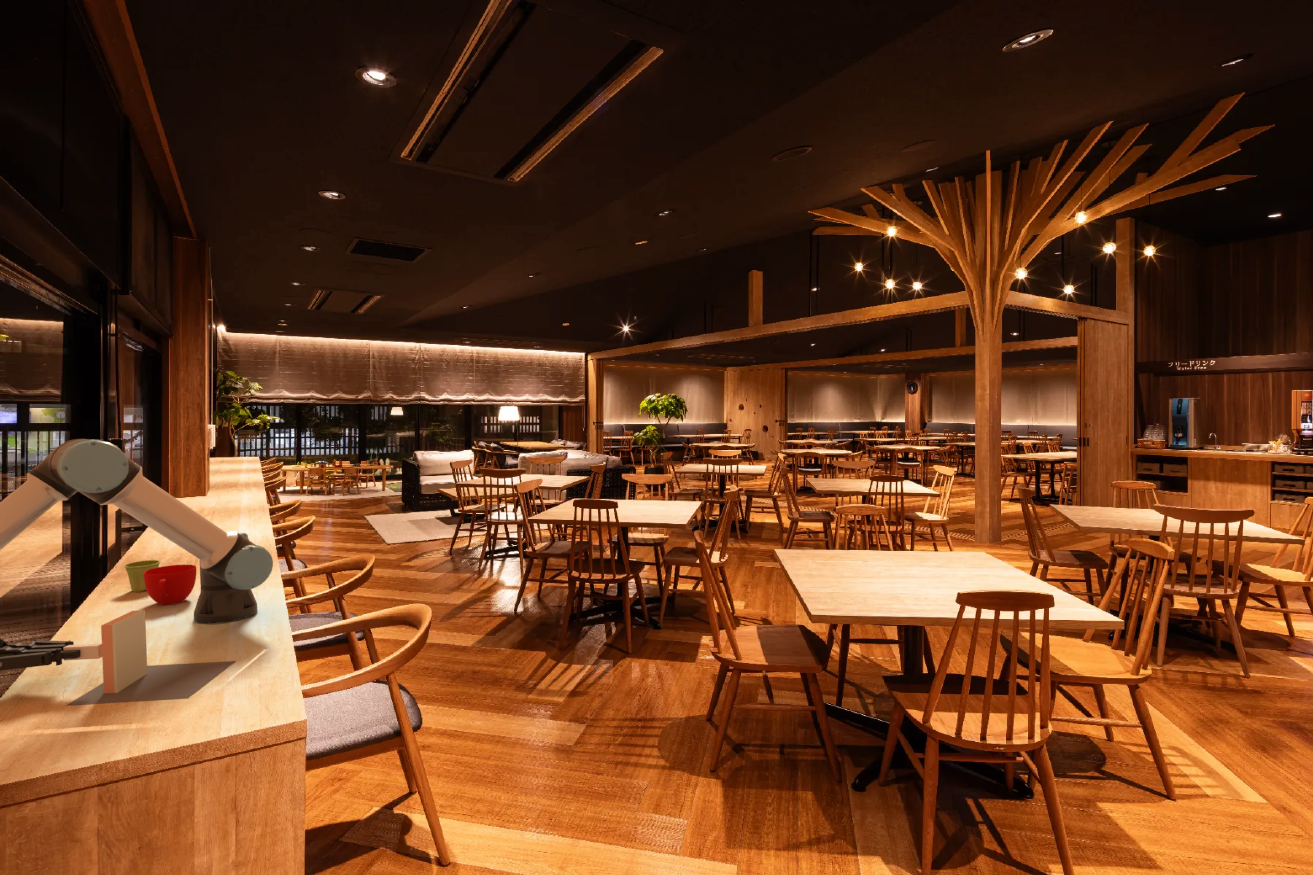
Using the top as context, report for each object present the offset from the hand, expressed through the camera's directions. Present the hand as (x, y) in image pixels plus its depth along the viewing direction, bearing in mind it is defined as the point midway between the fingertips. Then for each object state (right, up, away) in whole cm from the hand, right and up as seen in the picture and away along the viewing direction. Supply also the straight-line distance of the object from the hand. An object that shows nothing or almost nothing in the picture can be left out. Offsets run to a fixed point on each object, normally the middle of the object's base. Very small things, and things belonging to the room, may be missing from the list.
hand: (100, 650), depth 139 cm
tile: (+4, -7, +1) cm, 9 cm away
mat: (+10, -8, +2) cm, 13 cm away
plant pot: (-51, -5, +78) cm, 93 cm away
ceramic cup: (-31, -6, +62) cm, 69 cm away
